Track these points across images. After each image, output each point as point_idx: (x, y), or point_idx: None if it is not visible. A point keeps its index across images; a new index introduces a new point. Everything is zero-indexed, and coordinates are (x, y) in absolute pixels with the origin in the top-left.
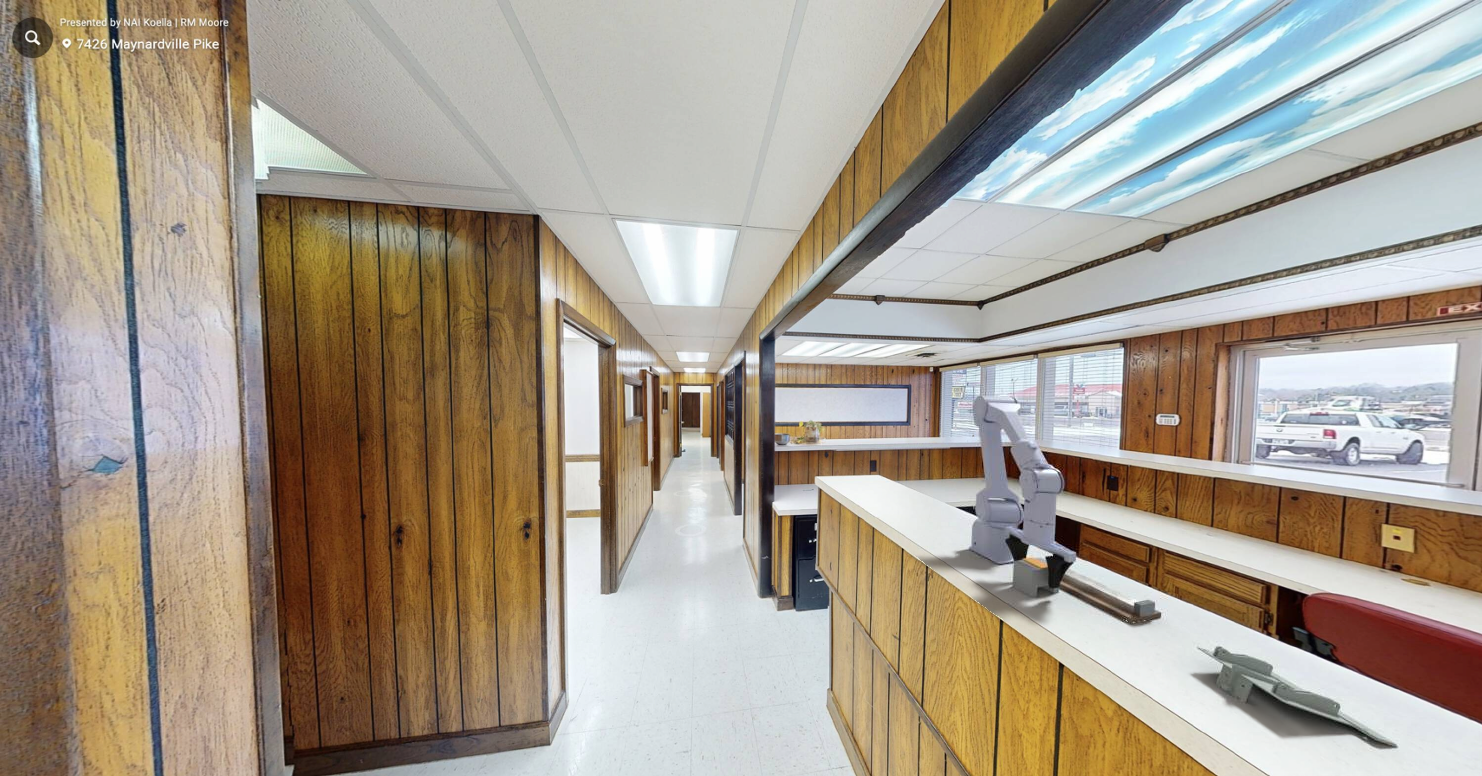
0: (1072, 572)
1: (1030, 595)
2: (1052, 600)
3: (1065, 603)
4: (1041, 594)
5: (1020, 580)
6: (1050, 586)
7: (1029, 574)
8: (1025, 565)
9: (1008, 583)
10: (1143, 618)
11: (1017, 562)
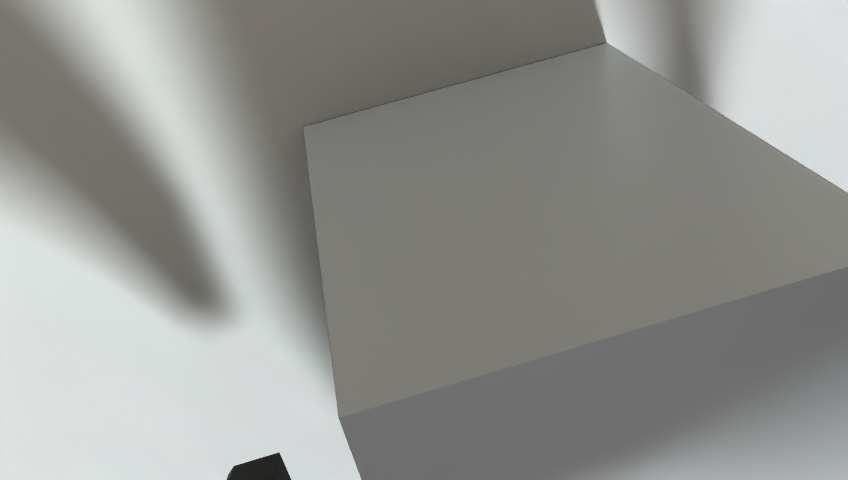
0: None
1: (321, 130)
2: (238, 357)
3: (185, 459)
4: None
5: (535, 134)
6: (248, 475)
7: (406, 299)
8: (637, 400)
9: (688, 37)
10: None
11: (833, 295)
